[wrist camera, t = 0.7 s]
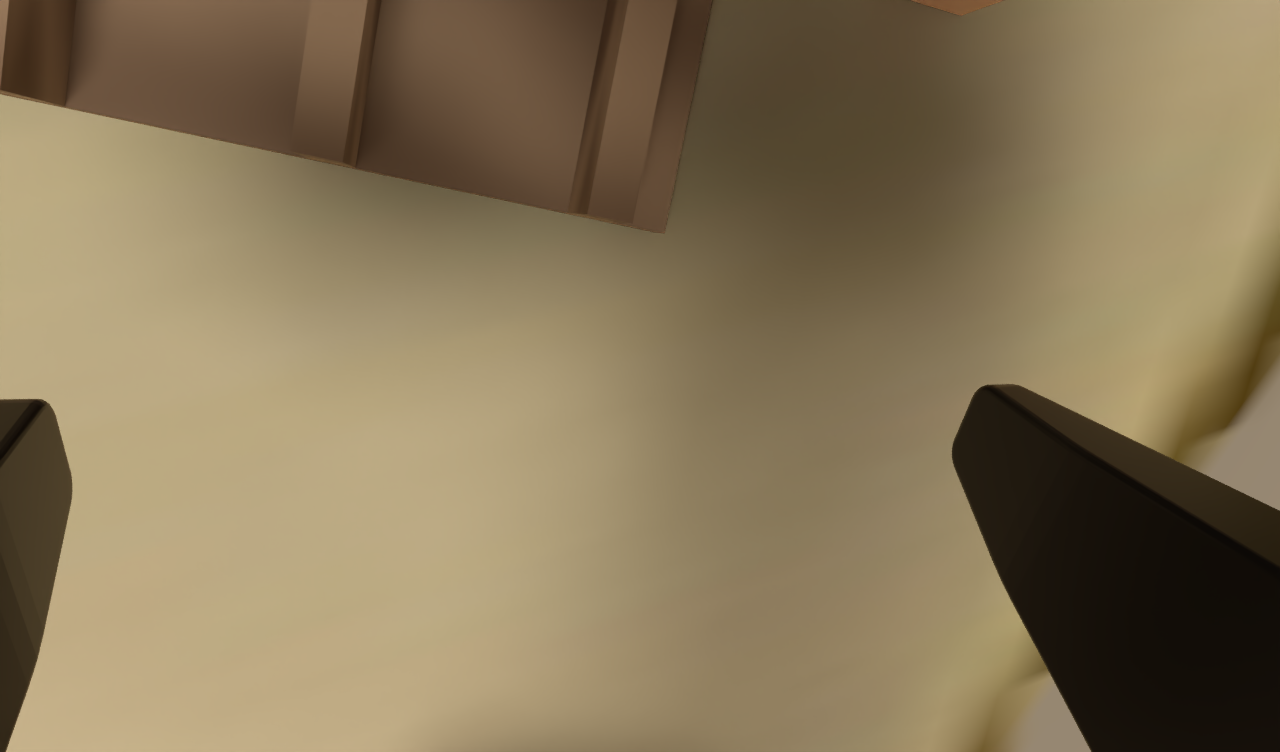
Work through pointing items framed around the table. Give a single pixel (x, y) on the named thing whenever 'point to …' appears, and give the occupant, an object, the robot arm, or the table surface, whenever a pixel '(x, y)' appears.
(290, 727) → the table surface
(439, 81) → the slotted wooden tray
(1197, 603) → the robot arm
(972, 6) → the clay slab
